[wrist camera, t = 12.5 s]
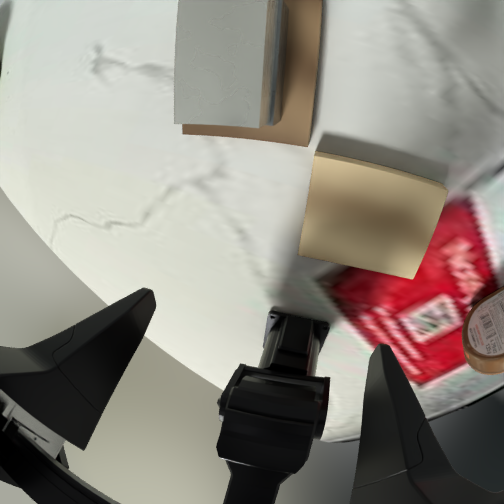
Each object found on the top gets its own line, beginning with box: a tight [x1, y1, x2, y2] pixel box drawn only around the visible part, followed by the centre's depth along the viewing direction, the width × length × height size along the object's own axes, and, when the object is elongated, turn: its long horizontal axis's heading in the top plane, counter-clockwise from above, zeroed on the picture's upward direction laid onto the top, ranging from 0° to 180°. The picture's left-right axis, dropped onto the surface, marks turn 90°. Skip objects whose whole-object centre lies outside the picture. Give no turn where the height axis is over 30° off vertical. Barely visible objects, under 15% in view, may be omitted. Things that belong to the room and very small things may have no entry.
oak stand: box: [298, 151, 448, 279], centre depth 19 cm, size 8×10×2 cm
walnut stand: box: [182, 0, 323, 147], centre depth 15 cm, size 11×9×2 cm
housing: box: [174, 0, 289, 128], centre depth 12 cm, size 5×8×5 cm, turn 177°
